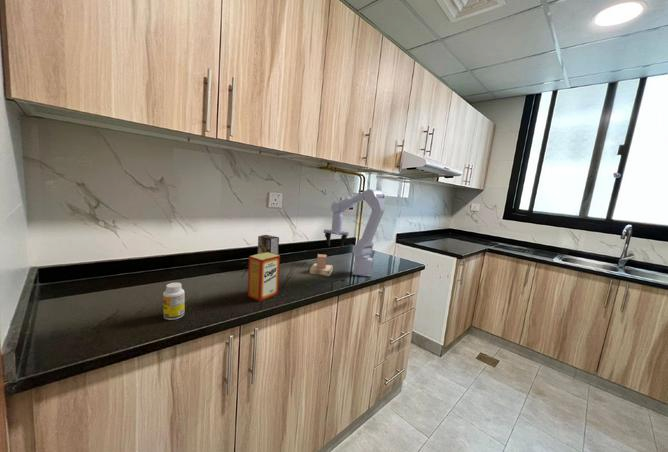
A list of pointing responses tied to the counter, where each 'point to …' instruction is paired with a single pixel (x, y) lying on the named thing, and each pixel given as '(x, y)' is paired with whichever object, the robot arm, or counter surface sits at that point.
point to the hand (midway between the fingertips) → (335, 246)
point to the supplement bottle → (173, 301)
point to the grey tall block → (268, 244)
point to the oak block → (321, 270)
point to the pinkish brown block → (321, 261)
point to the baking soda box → (263, 276)
